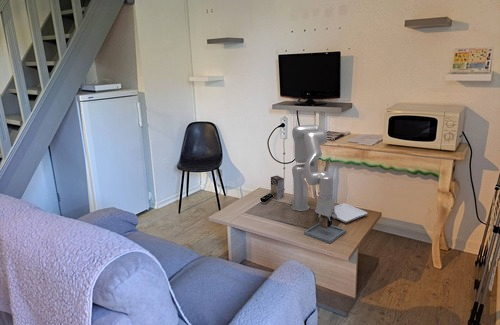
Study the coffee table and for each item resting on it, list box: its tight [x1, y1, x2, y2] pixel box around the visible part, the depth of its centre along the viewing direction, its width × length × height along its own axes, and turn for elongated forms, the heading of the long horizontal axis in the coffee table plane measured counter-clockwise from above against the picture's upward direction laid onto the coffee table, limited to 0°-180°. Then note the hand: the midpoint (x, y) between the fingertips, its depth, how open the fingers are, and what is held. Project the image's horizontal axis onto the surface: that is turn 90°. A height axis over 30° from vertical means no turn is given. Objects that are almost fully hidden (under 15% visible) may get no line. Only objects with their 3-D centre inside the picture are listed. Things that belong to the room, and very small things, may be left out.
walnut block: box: [318, 215, 329, 229], centre depth 212 cm, size 5×5×6 cm
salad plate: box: [332, 202, 368, 223], centre depth 238 cm, size 21×21×3 cm
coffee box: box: [270, 175, 285, 201], centre depth 271 cm, size 9×6×16 cm
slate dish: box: [303, 222, 347, 245], centre depth 214 cm, size 18×18×2 cm
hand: (325, 224), depth 213 cm, fingers closed on walnut block, 5 cm apart
